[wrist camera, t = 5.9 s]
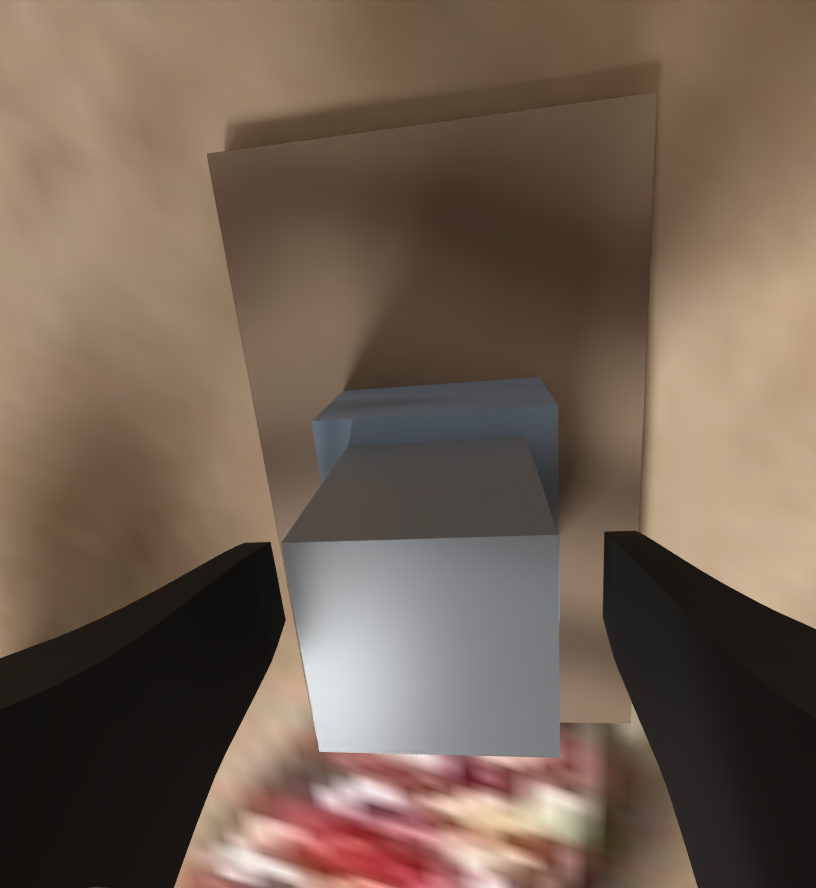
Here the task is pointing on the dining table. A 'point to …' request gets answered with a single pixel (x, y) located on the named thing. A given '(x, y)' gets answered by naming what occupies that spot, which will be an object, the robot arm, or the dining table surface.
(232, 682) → the robot arm
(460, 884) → the dining table surface
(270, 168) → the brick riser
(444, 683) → the gray brick
